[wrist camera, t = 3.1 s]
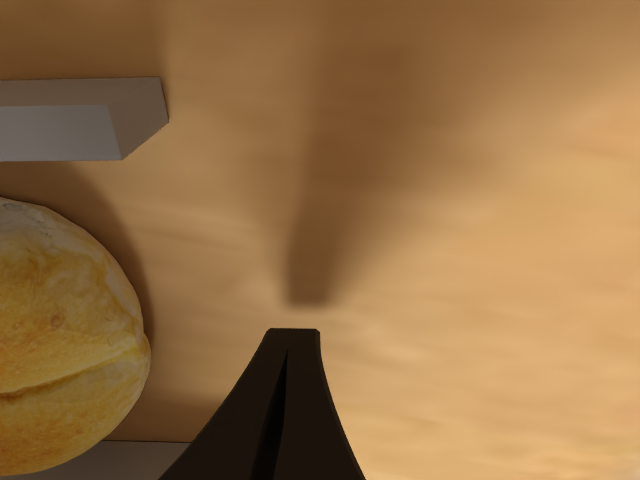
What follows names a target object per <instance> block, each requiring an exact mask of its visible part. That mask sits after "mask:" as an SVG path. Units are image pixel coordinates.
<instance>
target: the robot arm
mask: <svg viewBox="0 0 640 480" xmlns="http://www.w3.org/2000/svg"><path fill="white" fill-rule="evenodd" d="M157 480H366V479H365V477H364V475H363V473H362V471H361V469H360V466H359V464H358V462H357V460H356V458H355V456H354V453H353V451H352V449H351V447H350V444H349V442H348V440H347V437H346V435H345V432H344V430H343V427H342V425H341V422H340V419H339V417H338V414H337V411H336V409H335V406H334V403H333V400H332V396H331V393H330V390H329V386H328V383H327V379H326V376H325V372H324V367H323V362H322V357H321V348H320V332H319V331H318V330H317V329H294V328H270V329H269V330H268V331H266V333H265V335H264V337H263V339H262V341H261V343H260V345H259V347H258V349H257V351H256V352H255V354H254V356H253V357H252V359H251V361H250V362H249V364H248V366H247V367H246V369H245V371H244V372H243V374H242V375H241V377H240V378H239V380H238V381H237V383H236V384H235V386H234V387H233V389H232V390H231V392H230V393H229V395H228V396H227V397H226V399H225V400H224V402H223V403H222V404H221V406H220V407H219V408H218V410H217V411H216V412H215V414H214V415H213V416H212V418H211V419H210V420H209V422H208V423H207V424H206V425H205V427H204V428H203V429H202V430H201V432H200V433H199V434H198V435H197V437H196V438H195V439H194V440H193V441H192V442H191V444H190V445H189V446H188V447H187V448H186V449H185V450H184V452H183V453H182V454H181V455H180V456H179V457H178V458H177V459H176V460H175V461H174V462H173V464H172V465H171V466H170V467H169V468H168V469H167V470H166V471H165V472H164V473H163V474H162V475H161V476H160V477H159V478H158V479H157Z"/></svg>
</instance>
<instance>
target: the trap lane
mask: <svg viewBox="0 0 640 480" xmlns="http://www.w3.org/2000/svg"><path fill="white" fill-rule="evenodd" d="M168 122H169V120H168V115H167V110H166V105H165V100H164V95H163V91H162V86H161V81H160V77H131V78H85V79H40V80H0V162H5V161H91V160H123V159H124V158H125V157H127V156H128V155H129V154H130V153H132V152H133V151H134V150H135V149H136V148H138V147H139V146H140V145H141V144H143V143H144V142H145V141H146V140H148V139H149V138H150V137H151V136H152V135H154V134H155V133H156V132H157V131H159V130H160V129H161V128H162V127H164V126H165V125H166V124H167V123H168ZM190 444H191V443H169V442H129V441H99V442H98V443H97V444H96V445H94V446H93V447H91V448H90V449H89V450H87V451H86V452H84V453H83V454H81V455H79V456H77V457H75V458H73V459H71V460H69V461H67V462H65V463H63V464H60V465H57V466H55V467H52V468H49V469H46V470H42V471H38V472H34V473H28V474H19V475H9V476H0V480H157V479H158V478H159V477H160V476H161V475H162V474H163V473H164V472H165V471H166V470H167V469H168V468H169V467H170V466H171V465H172V464H173V462H174V461H175V460H176V459H177V458H178V457H179V456H180V455H181V454H182V453H183V452H184V450H185V449H186V448H187V447H188V446H189V445H190Z"/></svg>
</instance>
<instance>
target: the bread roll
mask: <svg viewBox="0 0 640 480" xmlns="http://www.w3.org/2000/svg"><path fill="white" fill-rule="evenodd" d="M150 364H151V353H150V345H149V341H148V339H147V337H146V335H145V334H144V329H143V316H142V314H141V307H140V302H139V300H138V297H137V295H136V293H135V290H134V288H133V287H132V285H131V284H130V282H129V280H128V279H127V277H126V275H125V274H124V272H123V270H122V268H121V267H120V265H119V264H118V262H117V261H116V260H115V259H114V257H113V256H112V255H111V254H110V253H109V252H108V251H107V250H106V248H105V247H104V246H102V245H101V244H100V243H99V242H98V241H97V240H96V239H95V238H94V237H92V236H91V235H90V234H89V233H88V232H87V231H86V230H85V229H83V228H81V227H80V226H78V225H76V224H74V223H72V222H71V221H69V220H68V219H66V218H64V217H63V216H61V215H60V214H58V213H56V212H54V211H52V210H51V209H49V208H47V207H45V206H40V205H35V204H30V203H25V202H20V201H15V200H10V199H6V198H3V197H0V476H9V475H19V474H28V473H34V472H38V471H42V470H46V469H49V468H52V467H55V466H57V465H60V464H63V463H65V462H67V461H69V460H71V459H73V458H75V457H77V456H79V455H81V454H83V453H84V452H86V451H87V450H89V449H90V448H91V447H93V446H94V445H96V444H97V443H98V442H99V441H101V440H102V439H103V438H104V437H106V436H107V435H109V434H110V433H111V432H112V431H113V430H114V429H115V428H116V427H117V426H118V425H119V424H120V422H121V421H122V420H123V419H124V418H125V417H126V415H127V414H128V413H129V411H130V410H131V409H132V407H133V406H134V404H135V403H136V401H137V400H138V398H139V397H140V395H141V392H142V390H143V388H144V385H145V382H146V380H147V377H148V375H149V372H150V371H149V370H150Z"/></svg>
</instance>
